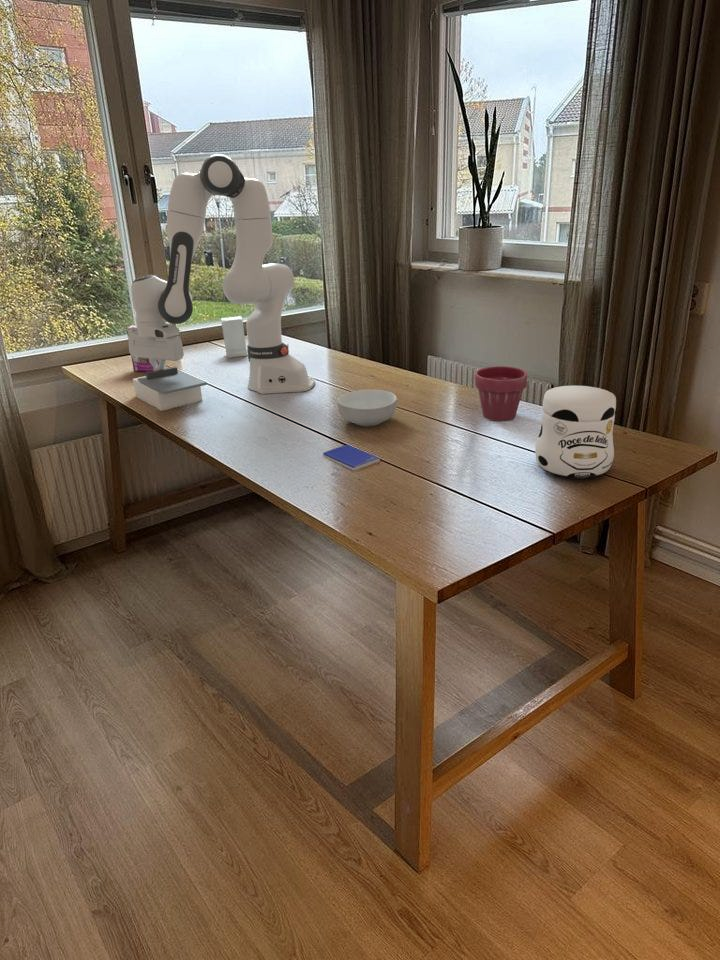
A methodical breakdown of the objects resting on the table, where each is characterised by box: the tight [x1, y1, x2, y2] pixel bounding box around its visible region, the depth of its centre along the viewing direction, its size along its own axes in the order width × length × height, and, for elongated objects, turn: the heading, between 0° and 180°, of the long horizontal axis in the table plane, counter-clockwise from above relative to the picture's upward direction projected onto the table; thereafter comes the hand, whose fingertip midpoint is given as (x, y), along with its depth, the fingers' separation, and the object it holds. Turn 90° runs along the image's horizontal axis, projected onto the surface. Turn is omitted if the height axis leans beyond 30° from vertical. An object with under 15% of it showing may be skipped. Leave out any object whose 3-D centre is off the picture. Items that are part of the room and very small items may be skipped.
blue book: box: [322, 444, 381, 471], centre depth 167 cm, size 2×8×12 cm
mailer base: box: [132, 375, 203, 412], centre depth 217 cm, size 20×14×6 cm
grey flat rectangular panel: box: [137, 366, 208, 394], centre depth 211 cm, size 20×14×3 cm
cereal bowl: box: [337, 388, 398, 427], centre depth 190 cm, size 17×17×7 cm
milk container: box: [534, 385, 617, 480], centre depth 153 cm, size 17×17×18 cm
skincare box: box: [220, 315, 248, 359], centre depth 263 cm, size 8×6×15 cm
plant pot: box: [474, 365, 528, 422], centre depth 189 cm, size 14×14×13 cm
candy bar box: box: [126, 324, 167, 373], centre depth 247 cm, size 11×5×16 cm, turn 84°
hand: (159, 371), depth 218 cm, fingers closed
